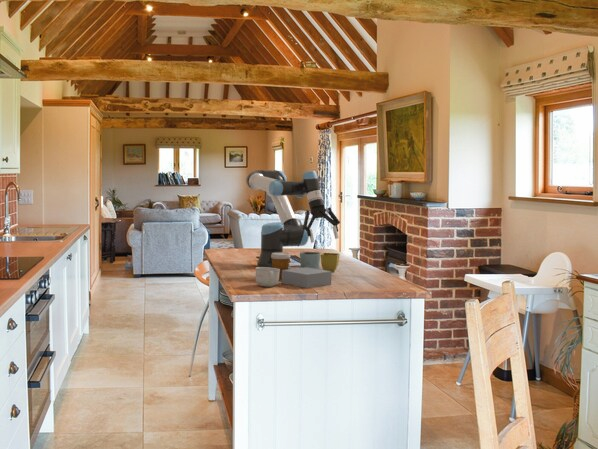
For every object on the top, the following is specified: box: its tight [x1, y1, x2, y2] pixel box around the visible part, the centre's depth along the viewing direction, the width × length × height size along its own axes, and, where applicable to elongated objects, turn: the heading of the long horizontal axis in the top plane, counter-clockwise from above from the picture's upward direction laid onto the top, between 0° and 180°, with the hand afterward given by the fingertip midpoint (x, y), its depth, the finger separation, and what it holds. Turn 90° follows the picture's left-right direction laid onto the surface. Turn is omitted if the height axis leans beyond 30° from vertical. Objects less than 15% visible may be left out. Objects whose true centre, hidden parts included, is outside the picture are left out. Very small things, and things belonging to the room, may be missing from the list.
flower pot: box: [320, 252, 340, 273], centre depth 340 cm, size 9×9×9 cm
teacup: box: [254, 266, 280, 288], centre depth 290 cm, size 14×11×8 cm
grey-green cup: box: [299, 251, 322, 269], centre depth 318 cm, size 10×10×12 cm
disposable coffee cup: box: [271, 251, 291, 281], centre depth 312 cm, size 10×10×12 cm
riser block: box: [281, 267, 333, 289], centre depth 299 cm, size 16×16×6 cm
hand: (325, 240), depth 333 cm, fingers open, 13 cm apart
